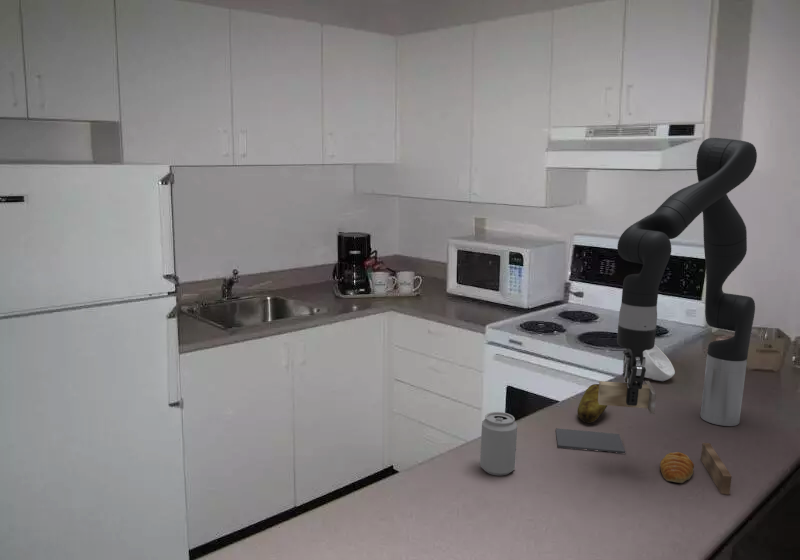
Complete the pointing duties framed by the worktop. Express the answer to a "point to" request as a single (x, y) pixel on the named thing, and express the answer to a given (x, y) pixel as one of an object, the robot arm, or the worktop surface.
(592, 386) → the potato
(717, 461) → the rail
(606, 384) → the scraper
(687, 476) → the pastry
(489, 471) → the can
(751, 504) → the worktop surface
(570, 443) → the mat
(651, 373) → the skull bowl
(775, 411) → the worktop surface
